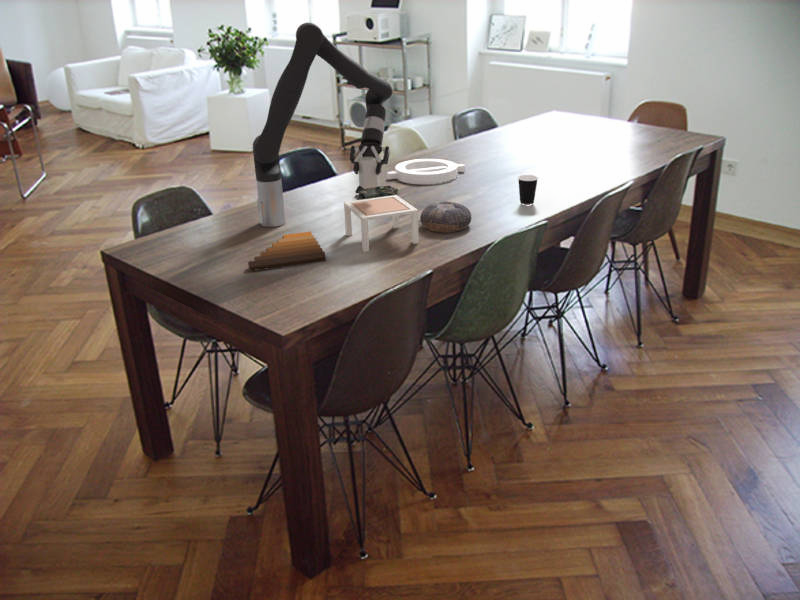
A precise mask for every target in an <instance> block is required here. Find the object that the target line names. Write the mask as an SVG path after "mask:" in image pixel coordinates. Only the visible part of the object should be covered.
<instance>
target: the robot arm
mask: <svg viewBox="0 0 800 600" xmlns="http://www.w3.org/2000/svg"><path fill="white" fill-rule="evenodd" d="M292 50H293V51H292V53H291V56H290V59H289V61H288V63H287V65H286V67H285V68H284V70H283V72H282V73H281V75H280V77H279V79H278V81H277V83H276V86H275V89H274V91H273V94H272V97H271V99H270V104H269V107H268V113H267V117H266V118H267V119H266V122H265V125H264V127H263V129H262V131H261V133H260V135H257V136H256V137H255V139H254V140H253V143H252V155H253V162H254V173H255V180H256V188H257V198H256V200H257V203H256V204H257V211H258V221H259V224H260V226H261V227H262V226H263V227H262V228H277V227H280V226H283V225H285V224H286V214H285V213H286V212H285V203H284V192H283V191H284V190H283V182H282V170H281V162H280V151H281V147H282V142H283V139H284V135H285V133H286V130H287V128H288V126H289V125H290V122H291V120H292V119H293V117H294V116H293V115H294V114H295V112H296V109H297V107H298V106H299V105H298V104H299V102H300V99H301V97H302V94H303V92H304V88H305V85H306V83H307V79H308V76H309V72H310V68H311V66H312V65H313V62H314V60H315V58H316V57H317V56H318V57H320V58H321V59H322V60H324V61H325V62H326V63H327V64H328V65H329V66H330V67H331V68H333V69H334V70H335V71H336V72H337V73H338V74H339V75H340V76H341V77H342V78H344V80H346V81H347V82H349V83H350V84H351V85H352V86H353V87H355V88H356V89H358V90H361V89H364V88H366V89H368V90H367V91H366V93H365V98H364V100H365V109H366V112H365V118H364V123H363V127H362V133H361V138H360V145H359V146H354V145H351V146H350V154H349V162H350V163H351V164H352V165H353V169H352V170H353V172H354V174H355V175H359V168H358V158H359V157H367V156H370V157H374V158H375V159H376V165H377V166H376V175H377V176H379V175H380V174H381V172H382V168H383V166H384V165H388V163H389V159H390V153H391V150H390V147H389V146H388V145H387V146H385V147H383V139H384V134H385V122H386V113H387V111H386V107H384V106H383V104H384V103H385V102H387V100H389V99H390V98H391V96H392V95H393V88H392V86H391V84H390V83H389V82H388V81H387V80H386V79H384V78H382V77H380V76H379V75H376V74H373V73H372V72H369V71H368V70H367V69H366V68H365V67H363V66H362V65H360V64H359V62H357V61H356V60H355V59H353V58H351V57H350V56H349V55H347V54H346V53H344V52H343V51H342V50H341V49H339V48H338V47H337V46H335V45H334V44H333V43H332V42H331V41H330V40H329V39H328V37H326V35H324V32H323V31H322V29H321V28H320V27H319V26H318V25H317V24H316V23H313V22H303V23H302V24H301V25H299V26H298V27H297V29H296V32H295V44H294V47H293V49H292ZM358 151H359V153H358ZM382 152H383V159H381V158H380V156H379V155H380V154H381V153H382ZM356 154H357V156H356Z"/></svg>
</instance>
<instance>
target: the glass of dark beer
mask: <svg viewBox="0 0 800 600" xmlns="http://www.w3.org/2000/svg"><path fill="white" fill-rule="evenodd" d="M538 179H539V177H538V176H537V175H534V174H524V175H523V174H522V175H519V176H518V177H517V180H518V192H519V193H518V194H519V203H520V205H521V204H524V205H530V204H533V205H534V203H535V197H536V192H537V191H536V190H537V186H538Z"/></svg>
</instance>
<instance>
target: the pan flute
mask: <svg viewBox="0 0 800 600" xmlns="http://www.w3.org/2000/svg"><path fill="white" fill-rule="evenodd" d="M253 259H254V260H252V261H248V262H247V265H248V266H247V267H248V270H249V269H250V270H255V269H262V270H266V269H265V268H269V269H274V268H273V267H277V268H283V267H282V266H284V267H290V265H291V266H298V265H304V264H312V263H318V262H319V263H320V262H325V261H326V260H327V256H326V252H325V251H323V248H322V247H321V245H320V244H319V241H317V240H316V237H314V234H313V233H312V231H306V232H305V231H304V232H297V233H291V234H290V233H289V234H283V235H282V238H278V239H277V241H276V242H274V243H271V246H270V247H266V249H265V251H262V252H261V251H260V254H259V255H258V256H254V258H253ZM250 270H249V271H250ZM255 271H256V270H255Z"/></svg>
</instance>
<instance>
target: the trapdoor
mask: <svg viewBox="0 0 800 600" xmlns="http://www.w3.org/2000/svg"><path fill="white" fill-rule="evenodd" d="M353 206H355V207H356V208H357V209H358V210H359V211H361V212H362V213H363V214H364V215H365V216H368V215H375V214H382V213H389V212H396V211H402V210H408V208H406V207H405V206H403V205H402V204H401V203H399V202H398V201H396V200H395V199H394V198H386V199H379V200H372V201H365V202H358V203H353Z"/></svg>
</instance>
